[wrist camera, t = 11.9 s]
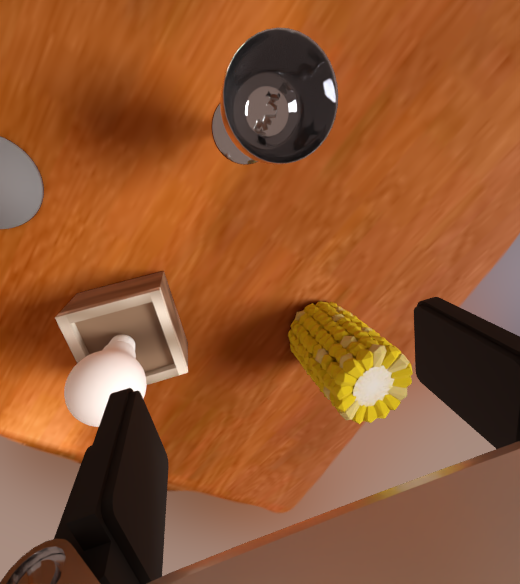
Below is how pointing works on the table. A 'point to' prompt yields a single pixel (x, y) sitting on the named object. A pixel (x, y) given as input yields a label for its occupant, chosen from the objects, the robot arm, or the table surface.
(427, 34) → the table surface
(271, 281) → the table surface
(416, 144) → the table surface
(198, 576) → the robot arm
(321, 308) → the food
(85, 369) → the lightbulb
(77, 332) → the square holder
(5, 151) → the grey flat disc
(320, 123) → the wine glass
